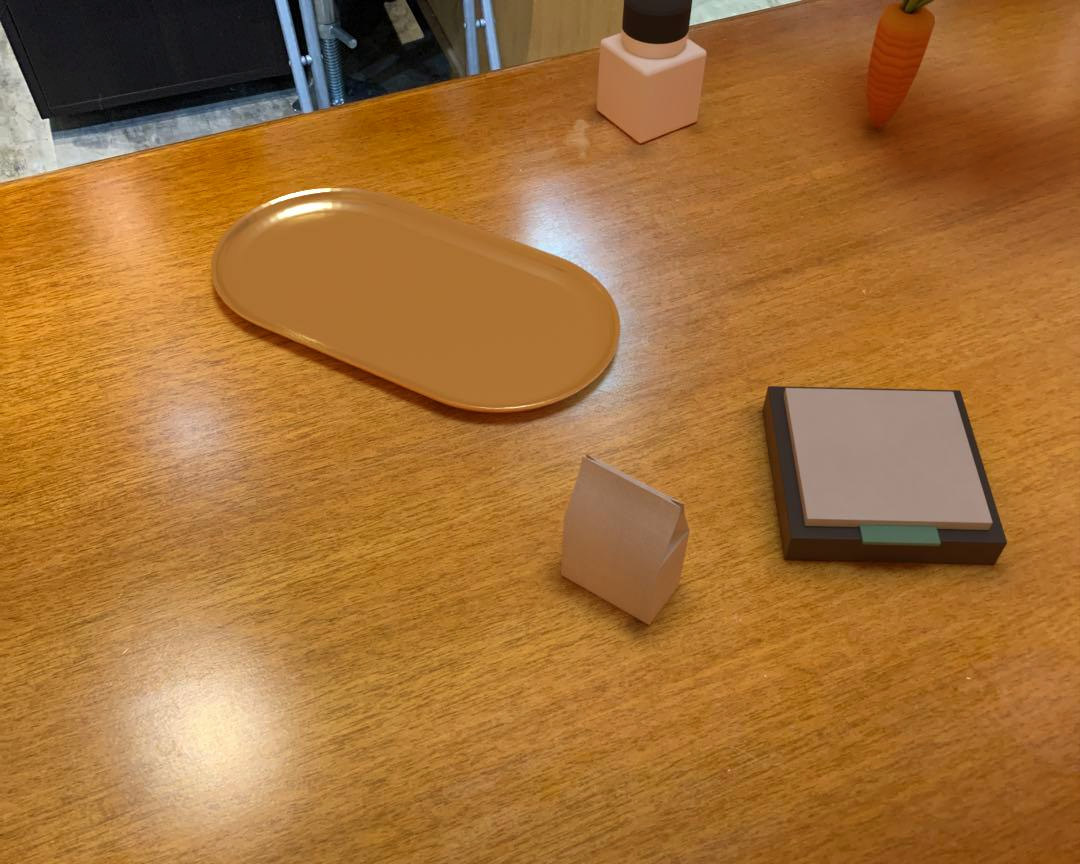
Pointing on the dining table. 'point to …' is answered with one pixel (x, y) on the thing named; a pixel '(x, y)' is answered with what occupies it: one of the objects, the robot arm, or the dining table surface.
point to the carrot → (896, 56)
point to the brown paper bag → (623, 540)
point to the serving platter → (418, 298)
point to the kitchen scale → (879, 476)
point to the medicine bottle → (651, 70)
